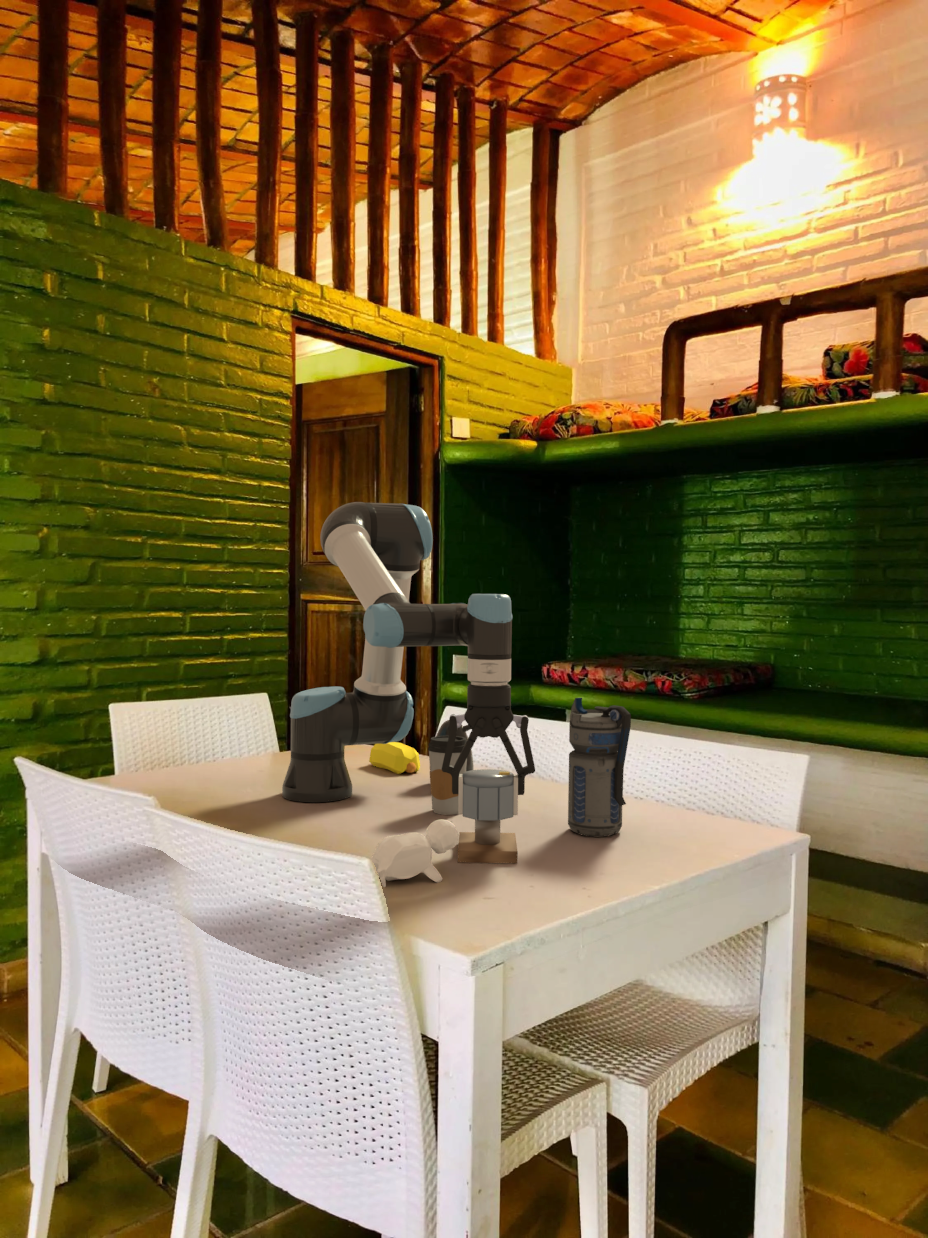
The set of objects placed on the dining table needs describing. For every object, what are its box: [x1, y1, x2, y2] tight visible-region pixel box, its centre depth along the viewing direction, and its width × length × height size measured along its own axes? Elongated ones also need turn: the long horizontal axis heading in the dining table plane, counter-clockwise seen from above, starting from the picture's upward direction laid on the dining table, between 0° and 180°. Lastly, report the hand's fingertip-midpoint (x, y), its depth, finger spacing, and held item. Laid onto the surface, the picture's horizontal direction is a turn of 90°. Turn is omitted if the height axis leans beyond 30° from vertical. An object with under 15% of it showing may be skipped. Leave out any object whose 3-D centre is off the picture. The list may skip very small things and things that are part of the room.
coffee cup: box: [427, 736, 467, 816], centre depth 198 cm, size 8×8×15 cm
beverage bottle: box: [567, 697, 632, 837], centre depth 182 cm, size 10×13×25 cm
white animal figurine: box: [370, 818, 459, 888], centre depth 154 cm, size 9×8×15 cm
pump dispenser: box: [435, 719, 474, 771], centre depth 223 cm, size 10×10×15 cm
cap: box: [462, 768, 515, 821], centre depth 167 cm, size 9×9×7 cm
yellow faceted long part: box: [368, 741, 421, 775], centre depth 242 cm, size 18×7×8 cm
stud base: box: [457, 820, 518, 864], centre depth 168 cm, size 10×12×7 cm
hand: (487, 813), depth 167 cm, fingers closed on cap, 9 cm apart
